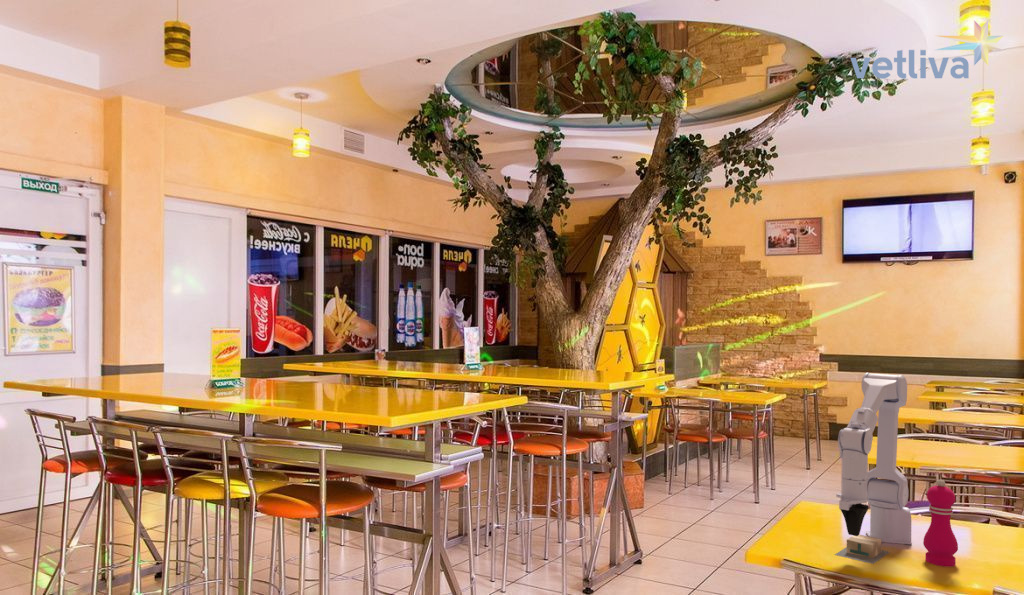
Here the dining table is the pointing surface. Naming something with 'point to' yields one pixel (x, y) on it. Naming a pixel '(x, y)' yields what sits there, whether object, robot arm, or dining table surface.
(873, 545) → the birch block
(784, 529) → the dining table surface
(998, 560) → the dining table surface
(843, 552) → the grey panel
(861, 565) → the dining table surface
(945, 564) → the pepper mill
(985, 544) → the dining table surface
